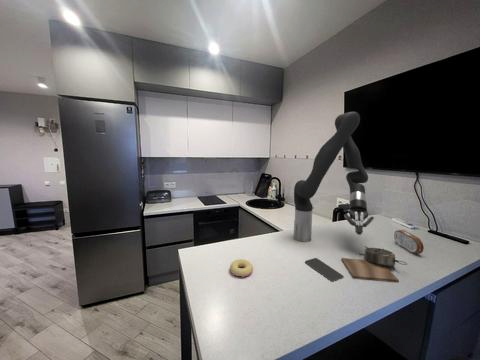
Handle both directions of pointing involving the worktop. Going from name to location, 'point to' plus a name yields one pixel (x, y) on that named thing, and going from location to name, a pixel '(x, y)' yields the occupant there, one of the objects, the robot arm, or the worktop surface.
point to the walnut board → (368, 270)
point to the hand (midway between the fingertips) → (359, 233)
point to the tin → (408, 241)
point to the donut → (241, 271)
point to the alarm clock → (380, 256)
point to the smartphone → (324, 269)
